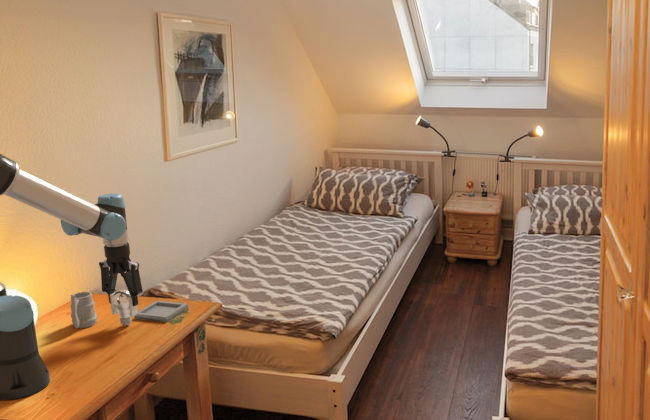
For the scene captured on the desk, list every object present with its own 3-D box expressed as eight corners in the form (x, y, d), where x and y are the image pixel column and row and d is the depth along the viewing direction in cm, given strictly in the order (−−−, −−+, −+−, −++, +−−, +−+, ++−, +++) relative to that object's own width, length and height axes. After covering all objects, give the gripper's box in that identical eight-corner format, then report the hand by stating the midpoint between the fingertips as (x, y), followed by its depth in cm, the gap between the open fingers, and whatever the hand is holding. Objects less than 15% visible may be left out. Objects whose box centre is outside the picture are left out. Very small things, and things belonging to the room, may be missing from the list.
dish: (166, 322, 222) (166, 317, 221) (134, 318, 226) (134, 313, 226) (188, 308, 233) (187, 303, 232) (157, 305, 237) (156, 300, 237)
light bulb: (131, 320, 225) (126, 284, 223) (141, 325, 220) (137, 289, 218) (111, 326, 221) (106, 290, 218) (121, 331, 216) (116, 295, 213)
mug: (101, 319, 228) (96, 284, 225) (87, 333, 216) (82, 296, 214) (78, 319, 228) (73, 284, 226) (63, 334, 217) (58, 297, 214)
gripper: (149, 242, 214) (157, 312, 219) (99, 238, 222) (108, 307, 227) (134, 248, 208) (143, 321, 213) (83, 245, 215) (92, 315, 220)
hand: (125, 314), depth 220 cm, fingers closed on light bulb, 6 cm apart
